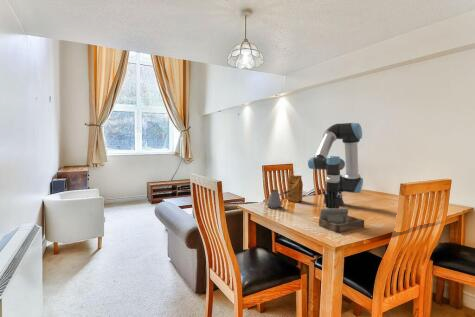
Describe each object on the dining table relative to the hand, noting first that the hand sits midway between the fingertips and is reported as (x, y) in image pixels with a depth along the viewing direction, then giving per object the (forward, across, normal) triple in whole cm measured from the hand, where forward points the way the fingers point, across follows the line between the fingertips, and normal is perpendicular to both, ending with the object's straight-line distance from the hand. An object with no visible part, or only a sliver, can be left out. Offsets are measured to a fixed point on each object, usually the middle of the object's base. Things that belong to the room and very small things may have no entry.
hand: (331, 220), depth 156 cm
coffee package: (+2, -58, +21) cm, 61 cm away
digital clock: (+2, +4, -3) cm, 5 cm away
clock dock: (+2, +6, 0) cm, 7 cm away
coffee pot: (+2, -44, -6) cm, 44 cm away
